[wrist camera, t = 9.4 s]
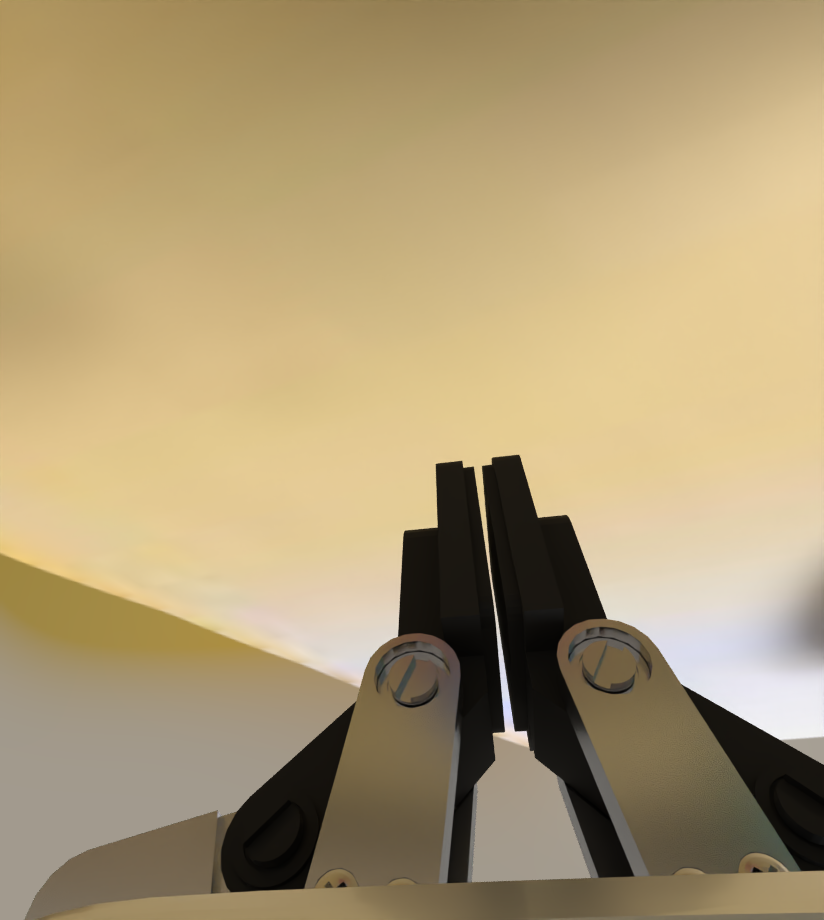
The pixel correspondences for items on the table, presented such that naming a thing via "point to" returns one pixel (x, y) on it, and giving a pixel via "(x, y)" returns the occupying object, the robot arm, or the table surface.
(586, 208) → the table surface
